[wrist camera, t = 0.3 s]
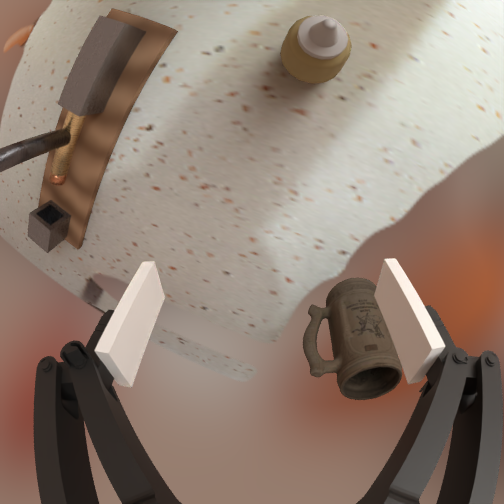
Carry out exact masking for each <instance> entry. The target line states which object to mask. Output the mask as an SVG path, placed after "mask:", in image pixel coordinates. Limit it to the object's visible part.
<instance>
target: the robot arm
mask: <svg viewBox="0 0 504 504" xmlns="http://www.w3.org/2000/svg"><path fill="white" fill-rule="evenodd" d="M374 296H375V299H376V301H377V303H378V306H379V308H380V310H381V313H382V315H383V318H384V320H385V322H386V325H387V327H388V330H389V332H390V335H391V338H392V340H393V343H394V345H395V348H396V351H397V353H398V356H399V359H400V362H401V365H402V367H403V370H404V373H405V376H406V379H407V382H408V384H412V383H416V382H420V381H421V380H422V379H423V378H424V376H425V375H426V376H427V379H428V381H427V382H426V383H425V385H424V386H423V387H422V388H421V390H420V391H419V392H422V394H421V396H420V399H419V401H418V403H417V406H416V408H415V410H414V412H413V414H412V416H411V419H410V420H409V423H408V425H407V427H406V429H405V431H404V432H403V434H402V436H401V438H400V440H399V442H398V444H397V446H396V447H395V449H394V451H393V453H392V454H391V456H390V458H389V459H388V461H387V463H386V464H385V466H384V468H383V470H382V471H381V472H380V474H379V475H378V477H377V479H376V480H375V481H374V483H373V485H372V486H371V488H370V489H369V490H368V492H367V493H366V494H365V496H364V497H363V498H362V499H361V500H360V501H358V502H357V503H356V504H420V503H419V498H420V496H421V494H422V492H423V491H424V488H425V487H426V485H427V483H428V481H429V479H430V477H431V475H432V473H433V471H434V469H435V467H436V465H437V463H438V460H439V458H440V456H441V453H442V451H443V449H444V446H445V443H446V441H447V439H448V436H449V433H450V431H451V428H452V425H453V431H452V438H451V444H450V450H449V456H448V461H447V466H446V470H445V475H444V479H443V483H442V486H441V490H440V494H439V497H438V500H437V504H492V502H493V498H494V494H495V489H496V483H497V478H498V472H499V464H500V456H501V445H502V427H503V403H502V383H501V372H500V363H499V359H498V357H497V355H496V354H494V353H493V352H492V351H484V352H483V353H482V354H481V356H480V357H472V356H468V354H467V353H466V352H465V351H464V350H463V349H461V348H457V347H455V345H454V343H453V341H452V339H451V337H450V335H449V333H448V331H447V330H446V327H445V326H444V324H443V322H442V321H441V318H440V317H439V315H438V313H437V312H436V311H435V310H434V309H433V308H432V307H431V306H424V305H423V303H422V301H421V299H420V298H419V296H418V294H417V293H416V291H415V289H414V287H413V286H412V284H411V282H410V281H409V279H408V277H407V276H406V274H405V273H404V271H403V269H402V268H401V266H400V265H399V263H398V262H397V260H396V259H384V262H383V266H382V270H381V273H380V277H379V280H378V284H377V287H376V291H375V294H374ZM164 299H165V296H164V293H163V290H162V286H161V283H160V279H159V276H158V272H157V269H156V265H155V262H142V264H141V265H140V267H139V269H138V270H137V272H136V274H135V276H134V277H133V279H132V281H131V282H130V284H129V286H128V288H127V290H126V291H125V293H124V295H123V297H122V298H121V300H120V302H119V304H118V306H117V307H116V309H115V310H108V311H107V312H106V313H105V314H104V315H103V316H102V317H101V319H100V321H99V323H98V325H97V326H96V328H95V331H94V332H93V334H92V336H91V338H90V340H89V342H88V344H87V345H86V347H84V345H83V344H82V343H81V342H79V341H71V342H69V343H67V344H66V345H65V346H64V347H63V348H62V350H61V353H60V357H61V358H62V360H63V361H64V362H59V363H58V362H57V361H56V359H55V358H54V357H51V356H47V357H45V358H43V359H42V360H40V362H39V363H38V366H37V371H36V381H35V395H34V396H35V397H34V450H35V461H36V462H35V463H36V472H37V480H38V487H39V493H40V498H41V503H42V504H99V501H98V498H97V494H96V490H95V485H94V481H93V477H92V472H91V467H90V462H89V456H88V450H87V444H86V436H85V428H84V421H85V424H86V427H87V430H88V432H89V435H90V438H91V440H92V443H93V445H94V447H95V449H96V452H97V455H98V457H99V459H100V461H101V463H102V466H103V468H104V470H105V472H106V474H107V476H108V478H109V480H110V482H111V484H112V486H113V488H114V490H115V491H116V493H117V495H118V497H119V498H120V500H121V502H122V504H182V503H181V502H179V501H178V500H177V499H176V497H175V496H174V494H173V493H172V491H171V490H170V489H169V487H168V486H167V484H166V483H165V481H164V480H163V478H162V477H161V476H160V474H159V472H158V471H157V470H156V468H155V466H154V465H153V463H152V461H151V460H150V458H149V456H148V454H147V453H146V451H145V449H144V448H143V446H142V444H141V442H140V441H139V439H138V437H137V435H136V433H135V431H134V429H133V427H132V425H131V423H130V421H129V420H128V417H127V415H126V414H125V411H124V409H123V407H122V405H121V403H120V400H119V398H118V396H117V394H116V391H115V389H114V387H113V386H112V382H113V380H114V379H115V381H116V382H117V383H118V385H122V386H127V387H132V386H133V383H134V380H135V377H136V374H137V371H138V367H139V365H140V362H141V359H142V357H143V354H144V351H145V348H146V346H147V343H148V340H149V337H150V335H151V332H152V329H153V327H154V324H155V322H156V319H157V316H158V314H159V311H160V309H161V306H162V304H163V301H164ZM453 422H454V423H453Z"/></svg>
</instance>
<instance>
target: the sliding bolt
mask: <svg viewBox="0 0 504 504" xmlns="http://www.w3.org/2000/svg"><path fill="white" fill-rule="evenodd" d="M85 118H86V115H85V116H80V117H79V116H77V115H75V114H74V113H72V112H70V111H68V113H67V116H66V119H65V122H64V125H63V128H62V129H59V130H55V131H52V132H48V133H45V134H41V135H38V136H35V137H32V138H29V139H26V140H23V141H20V142H17V143H14V144H12V145H9V146H6V147H4V148H1V149H0V172H2V171H4V170H6V169H9V168H11V167H13V166H15V165H17V164H20V163H22V162H24V161H27V160H29V159H32V158H34V157H36V156H39V155H42V154H44V153H47V152H49V151H52V150H55V149H56V152H55V155H54V159H53V163H52V167H51V172H50V176H49V182H50V183H51V184H53V185H56V186H60V185H63V184H64V183H65V180H66V177H67V173H68V169H69V166H70V162H71V159H72V156H73V152H74V149H75V146H76V143H77V140H78V137H79V134H80V131H81V129H82V126H83V123H84V121H85Z"/></svg>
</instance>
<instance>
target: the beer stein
mask: <svg viewBox="0 0 504 504" xmlns="http://www.w3.org/2000/svg"><path fill="white" fill-rule="evenodd" d="M375 291H376V286H375V284H374V283H373V282H371V281H370V280H367V279H363V278H350V279H347V280H344V281H342V282H340V283H338V284H337V285H336V286H335V287H334V288H333V289H332V290H331V291H330V292H329V294H328V297H327V300H326V308H319V307H317V306H315V305H311V306H310V308H309V311H308V314H309V315H310V316H311V318H312V319H311V322H310V324H309V325H308V327H307V329H306V331H305V334H304V337H303V349H304V353H305V355H306V358H307V360H308V362H309V365H310V374H311V375H312V376H315V377H321V376H322V375H323V374H325V373H337V383H338V386H339V388H340V391H341V393H342V394H343V395H344V396H345V397H347V398H350V399H355V400H366V399H373V398H377V397H379V396H382V395H384V394H386V393H388V392H390V391H391V390H393V389H394V388H395V387H396V386H397V385H398V384H399V382H400V380H401V377H402V365H401V362H400V359H399V357H398V354H397V351H396V348H395V345H394V343H393V340H392V338H391V335H390V332H389V330H388V327H387V325H386V322H385V320H384V318H383V315H382V313H381V310H380V308H379V306H378V303H377V301H376V299H375V296H374V294H375ZM324 318H327V319H328V322H329V329H330V335H331V342H332V350H333V356H334V360H333V361H325V360H323V359H322V358H321V357H320V355H319V354H318V351H317V343H316V340H317V333H318V329H319V326H320V324H321V321H322V319H324Z"/></svg>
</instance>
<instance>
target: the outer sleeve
mask: <svg viewBox="0 0 504 504" xmlns="http://www.w3.org/2000/svg"><path fill="white" fill-rule="evenodd" d="M145 33H146V31H144V30H141V29H139V28H136V27H134V26H131V25H128V24H126V23H123V22H120V21H116V20H113V19H110V18H107V17H103V16H99V18H98V20H97V21H96V23H95V25H94V26H93V28H92V30H91V32H90V33H89V35H88V37H87V39H86V41H85V43H84V45H83V47H82V49H81V51H80V53H79V55H78V57H77V59H76V61H75V63H74V65H73V67H72V70H71V72H70V74H69V77H68V79H67V81H66V84H65V86H64V89H63V91H62V94H61V97H60V99H59V102H58V104H59V105H60V106H62V107H64V108H65V109H67V110H69V111H70V112H72V113H74V114H75V115H77V116H79V117H80V116H85V115H91V114H97V113H103V111H104V109H105V107H106V105H107V103H108V100H109V98H110V96H111V94H112V92H113V90H114V88H115V86H116V84H117V82H118V80H119V78H120V76H121V74H122V72H123V70H124V69H125V67H126V65H127V63H128V61H129V60H130V58H131V56H132V54H133V53H134V51H135V49H136V48H137V46H138V44H139V43H140V41H141V40H142V38H143V36H144V35H145Z"/></svg>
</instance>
